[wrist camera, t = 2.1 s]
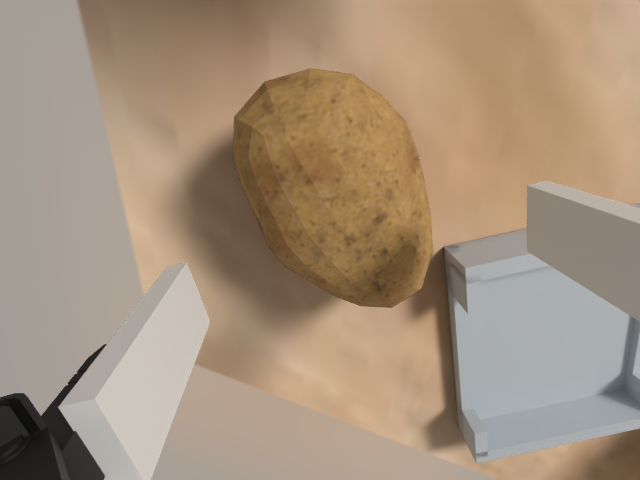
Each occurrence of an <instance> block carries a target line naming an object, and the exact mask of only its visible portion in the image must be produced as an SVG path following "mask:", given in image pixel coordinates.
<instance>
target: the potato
mask: <svg viewBox="0 0 640 480" xmlns="http://www.w3.org/2000/svg"><path fill="white" fill-rule="evenodd" d="M233 159H234V162H235V165H236V168H237V171H238V175H239V178H240V181H241V184H242V187H243V190H244V192H245V195H246V197H247V199H248V201H249V203H250V205H251V207H252V210H253V212H254V214H255V216H256V218H257V220H258V223H259V225H260V228H261V230H262V233H263V235H264V237H265V240H266V242H267V245H268V247H269V248H270V249H271V250H272V251H273V253H274V254H275V255H276V256H277V257H278V259H279V260H280V261H281V262H282V263H283V264H284V266H285V267H287V268H289V269H290V270H292V271H294V272H295V273H297V274H299V275H300V276H302V277H304V278H305V279H307V280H309V281H311V282H312V283H314V284H316V285H317V286H319V287H321V288H322V289H324V290H326V291H327V292H329V293H331V294H332V295H334V296H336V297H338V298H341V299H343V300H346V301H349V302H351V303H354V304H356V305H359V306H368V307H388V308H392V307H394V306H396V305H397V304H399V303H400V302H402V301H403V300H405V299H406V298H408V297H410V296H411V295H413V294H414V293H416V292H417V291H419V290H420V289H421V288H422V285H423V282H424V279H425V276H426V273H427V269H428V266H429V263H430V260H431V257H432V253H433V243H432V228H431V215H430V208H429V203H428V197H427V192H426V187H425V182H424V176H423V172H422V168H421V164H420V160H419V155H418V152H417V149H416V147H415V144H414V142H413V139H412V136H411V134H410V131H409V129H408V126H407V124H406V121H405V120H404V119H403V118H402V117H401V116H400V114H399V113H398V112H397V111H396V110H395V109H394V108H393V107H392V106H391V105H390V104H389V103H388V102H387V101H386V99H385V98H384V97H383V96H382V95H380V94H379V93H378V92H376V91H375V90H373V89H372V88H371V87H369V86H368V85H366V84H365V83H364V82H362V81H361V80H359V79H358V78H357V77H355V76H354V75H352V74H347V73H340V72H333V71H326V70H318V69H307V70H304V71H300V72H297V73H293V74H290V75H286V76H283V77H279V78H276V79H273V80H269V81H266V82H264V83H263V84H262V85H261V87H260V88H259V89H258V90H257V91H256V92H255V93H254V95H253V96H252V97H251V98H250V99H249V100H248V102H247V103H246V104H245V105H244V106H243V107H242V109H241V110H240V111H239V112H238V113H237V114H236V115H235V118H234V138H233Z"/></svg>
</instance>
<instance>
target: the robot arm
mask: <svg viewBox="0 0 640 480" xmlns="http://www.w3.org/2000/svg"><path fill="white" fill-rule="evenodd" d="M527 252H529V253H530V254H532V255H534V256H535V257H537V258H539V259H540V260H542V261H543V262H545V263H547V264H548V265H550V266H551V267H553V268H555V269H556V270H558V271H559V272H561V273H563V274H564V275H566V276H567V277H569V278H571V279H572V280H574V281H575V282H577V283H579V284H580V285H582V286H583V287H585V288H587V289H588V290H590V291H591V292H593V293H595V294H596V295H598V296H599V297H601V298H603V299H604V300H606V301H607V302H609V303H611V304H612V305H614V306H615V307H617V308H619V309H620V310H622V311H623V312H625V313H627V314H628V315H630V316H631V317H633V318H635V319H636V320H638V321H639V322H640V208H637V207H634V206H631V205H627V204H624V203H620V202H617V201H614V200H610V199H607V198H604V197H600V196H597V195H594V194H590V193H587V192H583V191H580V190H577V189H573V188H570V187H567V186H563V185H560V184H557V183H553V182H550V181H544V182H539V183H535V184H530V185H527ZM209 324H210V320H209V318H208V315H207V312H206V310H205V307H204V305H203V302H202V300H201V297H200V295H199V292H198V289H197V287H196V284H195V282H194V279H193V277H192V274H191V272H190V269H189V267H188V264H187V262H185V263H181V264H176V265H172V266H168V267H166V269H165V270H164V271H163V273H162V274H161V275H160V276H159V278H158V279H157V280H156V282H155V283H154V284H153V285H152V287H151V288H150V289H149V291H148V292H147V293H146V294H145V296H144V297H143V298H142V300H141V301H140V302H139V304H138V305H137V306H136V307H135V309H134V310H133V311H132V313H131V314H130V315H129V316H128V318H127V319H126V320H125V322H124V323H123V324H122V325H121V327H120V328H119V329H118V331H117V332H116V333H115V334H114V336H113V337H112V338H111V340H110V341H109V342H108V344H105V345H103V346H102V347H101V348H100V349H98V350H97V351H96V352H95V353H94V354H92V355H91V356H90V357H89V358H88V359H87V360H86V361H85V363H84V364H83V365H82V366H81V367H80V369H79V370H78V371H77V372H78V373H77V374H75V375H74V376H73V377H72V379H71V380H70V381H69V382H68V385H67V386H65V387H64V389H63V390H62V391H61V393H59V395H58V396H57V397H56V399H55V400H54V401H53V402H52V403H51V405H50V406H49V407H48V408H47V410H46V411H45V412H44V413H43V414H42V416H40V414H39V413H38V411H37V410H36V409H35V407H34V406H33V404H32V403H31V401H30V400H29V398H28V397H27V396H26V395H25V394H23V393H14V394H11V395H7V396H4V397H1V398H0V480H104V478H105V479H106V480H151V478H152V475H153V472H154V470H155V467H156V464H157V461H158V459H159V456H160V454H161V451H162V448H163V446H164V443H165V441H166V438H167V435H168V433H169V430H170V427H171V424H172V422H173V419H174V417H175V414H176V411H177V409H178V406H179V404H180V401H181V398H182V396H183V393H184V390H185V388H186V385H187V382H188V379H189V377H190V374H191V372H192V369H193V366H194V364H195V361H196V359H197V356H198V353H199V351H200V348H201V345H202V343H203V340H204V337H205V335H206V332H207V329H208V327H209Z"/></svg>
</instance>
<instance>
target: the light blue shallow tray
mask: <svg viewBox="0 0 640 480" xmlns="http://www.w3.org/2000/svg"><path fill="white" fill-rule="evenodd" d="M631 206H634V207H637V208H640V203H639V204H634V205H631ZM444 256H445V268H446V280H447V293H448V305H449V317H450V329H451V342H452V354H453V366H454V378H455V391H456V403H457V415H458V427H459V429H460V431H461V433H462V435H463V437H464V439H465V441H466V443H467V445H468V447H469V449H470V451H471V453H472V455H473V457H474V459H475V461H476V463H480V462H485V461H490V460H494V459H499V458H504V457H508V456H513V455H518V454H522V453H527V452H532V451H537V450H541V449H546V448H551V447H555V446H560V445H565V444H569V443H574V442H579V441H584V440H588V439H593V438H598V437H602V436H607V435H612V434H616V433H621V432H626V431H630V430H635V429H640V322H639V321H638V320H636V319H635V318H633V317H631V316H630V315H628V314H627V313H625V312H623V311H622V310H620V309H619V308H617V307H615V306H614V305H612V304H611V303H609V302H607V301H606V300H604V299H603V298H601V297H599V296H598V295H596V294H595V293H593V292H591V291H590V290H588V289H587V288H585V287H583V286H582V285H580V284H579V283H577V282H575V281H574V280H572V279H571V278H569V277H567V276H566V275H564V274H563V273H561V272H559V271H558V270H556V269H555V268H553V267H551V266H550V265H548V264H547V263H545V262H543V261H542V260H540V259H539V258H537V257H535V256H534V255H532V254H530V253H529V252H527V228H526V229H522V230H517V231H513V232H508V233H504V234H499V235H495V236H490V237H486V238H481V239H477V240H472V241H468V242H463V243H459V244H454V245H450V246H445V247H444Z"/></svg>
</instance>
